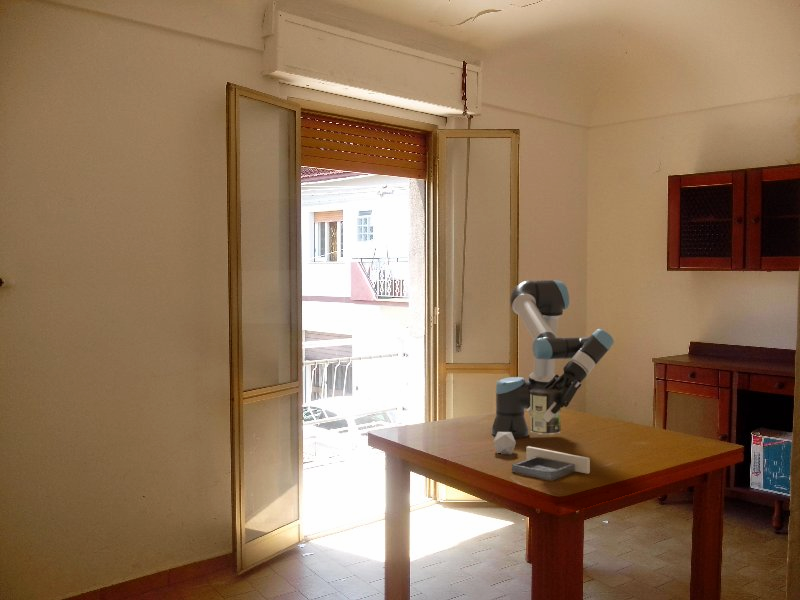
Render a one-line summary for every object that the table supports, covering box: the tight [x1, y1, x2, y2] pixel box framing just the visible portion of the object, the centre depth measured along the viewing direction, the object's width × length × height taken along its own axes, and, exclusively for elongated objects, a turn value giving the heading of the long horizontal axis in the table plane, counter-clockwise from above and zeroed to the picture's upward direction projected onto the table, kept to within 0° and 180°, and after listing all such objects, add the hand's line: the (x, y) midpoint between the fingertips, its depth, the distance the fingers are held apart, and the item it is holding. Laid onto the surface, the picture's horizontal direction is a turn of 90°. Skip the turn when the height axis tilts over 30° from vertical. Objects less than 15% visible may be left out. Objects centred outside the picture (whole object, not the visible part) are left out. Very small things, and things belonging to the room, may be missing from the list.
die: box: [492, 432, 517, 455], centre depth 264 cm, size 8×9×10 cm
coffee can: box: [529, 388, 562, 436], centre depth 239 cm, size 10×10×14 cm
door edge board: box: [525, 445, 591, 474], centre depth 246 cm, size 24×2×5 cm, turn 47°
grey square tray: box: [511, 456, 576, 482], centre depth 240 cm, size 15×15×2 cm
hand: (537, 416), depth 238 cm, fingers closed on coffee can, 10 cm apart
